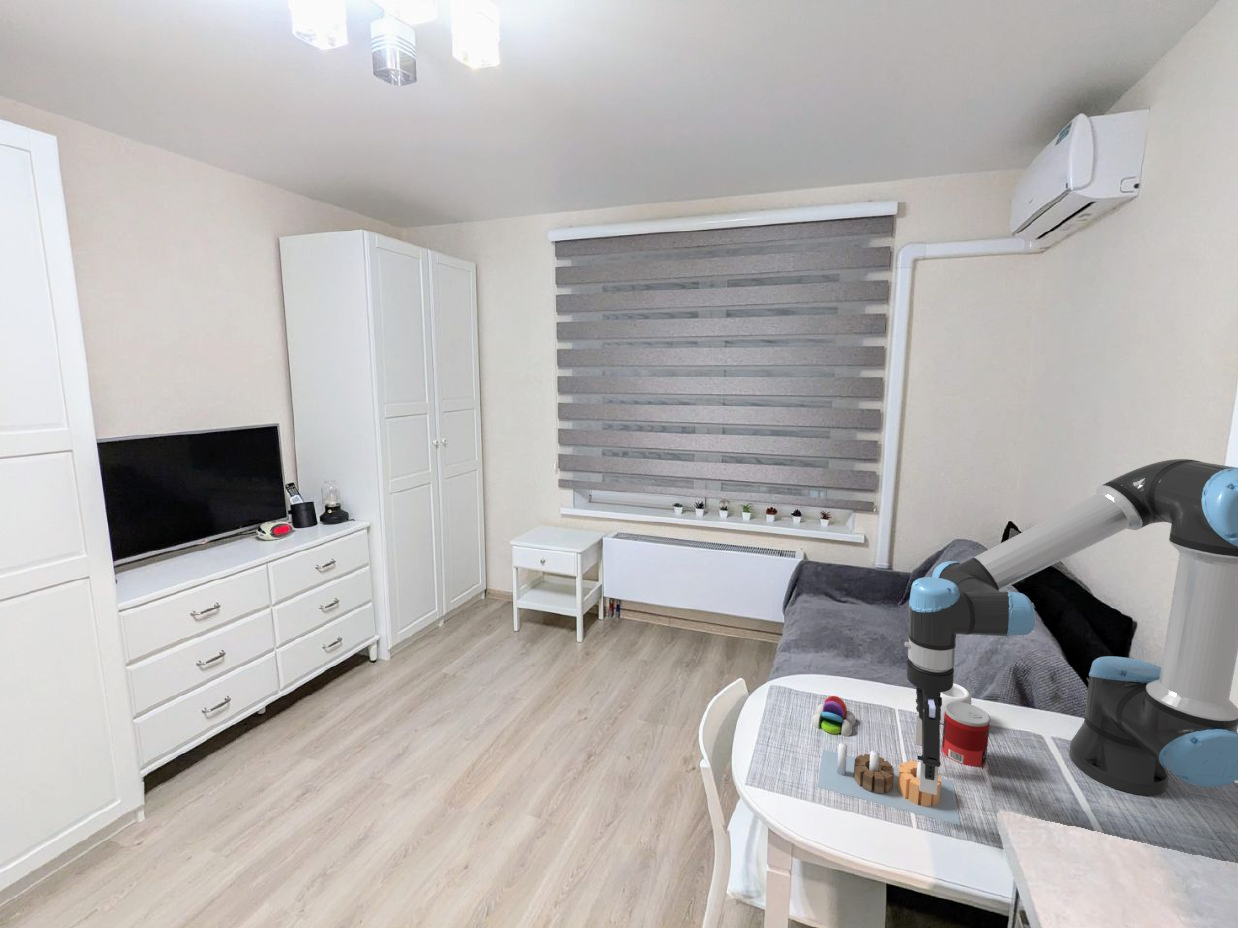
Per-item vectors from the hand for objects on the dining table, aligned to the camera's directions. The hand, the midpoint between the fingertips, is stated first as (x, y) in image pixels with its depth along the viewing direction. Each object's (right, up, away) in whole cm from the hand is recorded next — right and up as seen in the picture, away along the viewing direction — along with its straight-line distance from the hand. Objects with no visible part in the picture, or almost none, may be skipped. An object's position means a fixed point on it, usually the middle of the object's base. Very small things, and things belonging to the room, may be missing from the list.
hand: (925, 767), depth 108 cm
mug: (+19, -2, +27) cm, 33 cm away
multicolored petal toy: (-9, -4, +23) cm, 25 cm away
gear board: (-6, -7, +4) cm, 10 cm away
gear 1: (-8, -5, +4) cm, 10 cm away
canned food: (+14, -5, +12) cm, 19 cm away
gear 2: (-1, -5, +1) cm, 5 cm away
